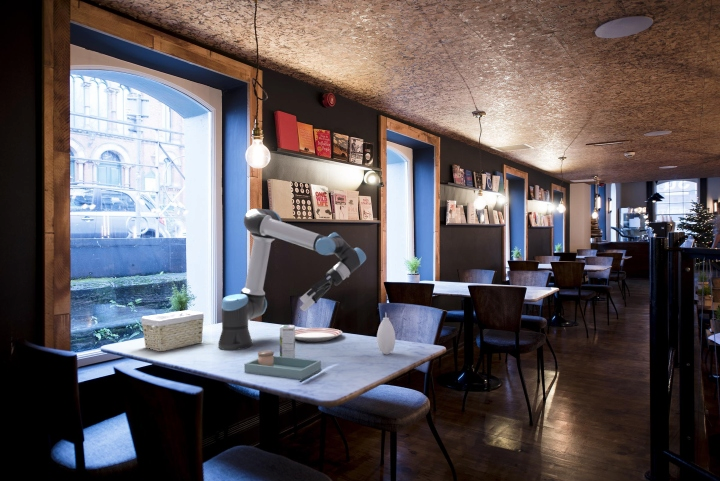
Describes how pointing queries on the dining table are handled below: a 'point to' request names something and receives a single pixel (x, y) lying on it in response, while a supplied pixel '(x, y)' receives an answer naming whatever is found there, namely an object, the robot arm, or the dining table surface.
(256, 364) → the tray
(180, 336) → the storage basket
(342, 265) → the robot arm
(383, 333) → the air blower bulb
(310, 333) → the dinner plate
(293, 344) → the syrup box
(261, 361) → the jar
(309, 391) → the dining table surface
